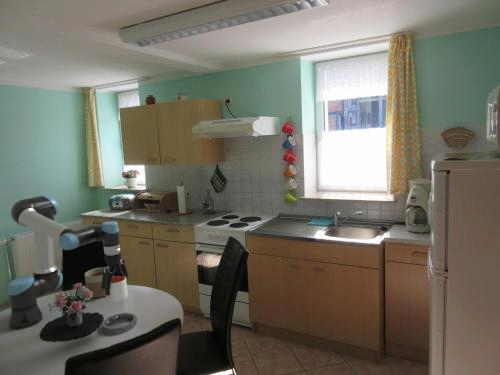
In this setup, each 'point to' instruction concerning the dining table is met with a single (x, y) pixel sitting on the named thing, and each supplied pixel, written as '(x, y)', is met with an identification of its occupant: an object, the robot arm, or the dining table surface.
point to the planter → (95, 282)
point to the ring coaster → (119, 323)
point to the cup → (118, 288)
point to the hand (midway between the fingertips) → (117, 296)
